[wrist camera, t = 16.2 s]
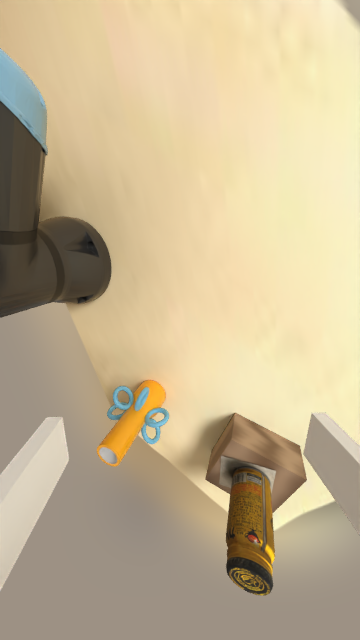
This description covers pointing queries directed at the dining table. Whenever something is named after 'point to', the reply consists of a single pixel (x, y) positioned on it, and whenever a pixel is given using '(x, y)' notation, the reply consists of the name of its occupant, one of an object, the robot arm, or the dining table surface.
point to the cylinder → (133, 420)
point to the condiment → (249, 525)
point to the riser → (259, 456)
